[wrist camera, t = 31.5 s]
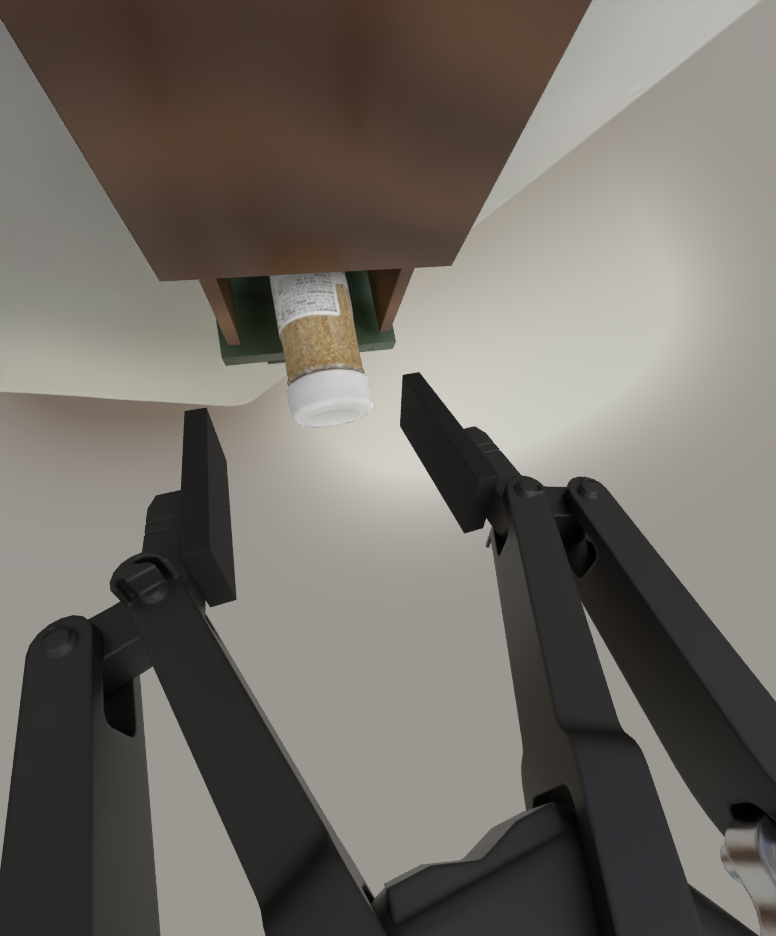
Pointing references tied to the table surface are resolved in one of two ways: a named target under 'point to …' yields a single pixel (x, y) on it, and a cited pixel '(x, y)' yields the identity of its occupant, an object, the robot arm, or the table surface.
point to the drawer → (255, 325)
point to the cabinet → (294, 121)
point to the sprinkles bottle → (320, 349)
